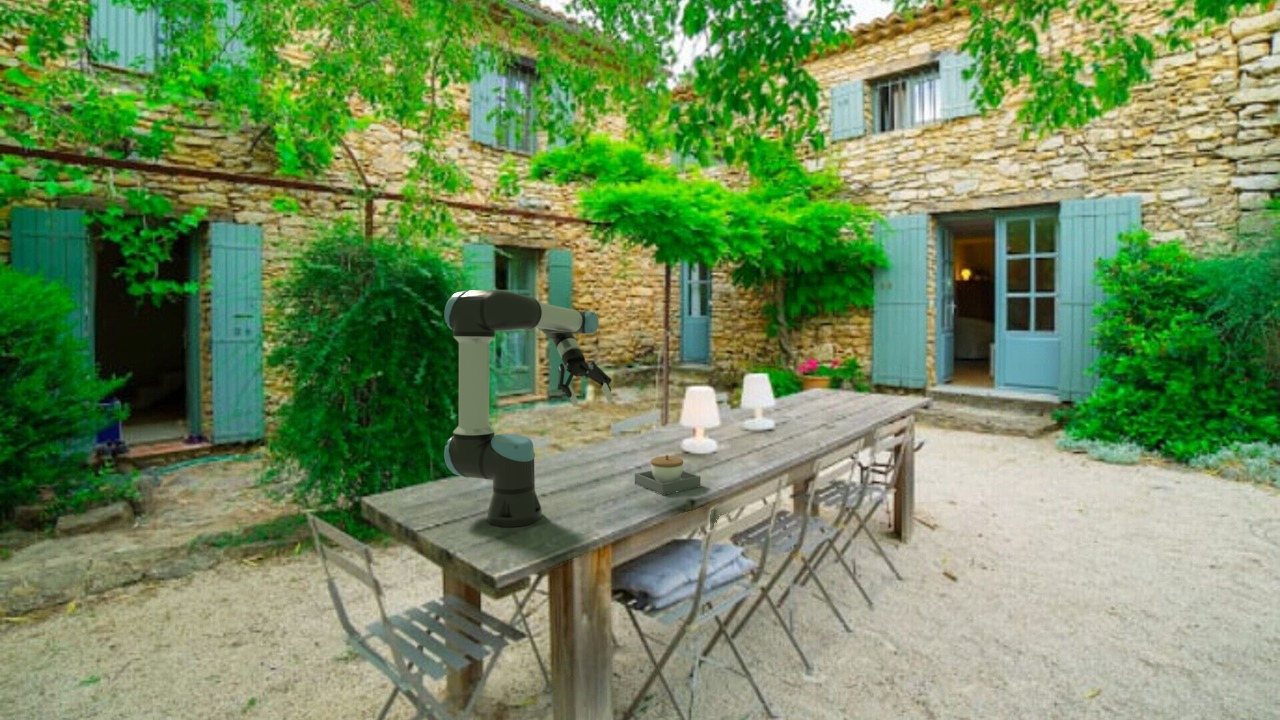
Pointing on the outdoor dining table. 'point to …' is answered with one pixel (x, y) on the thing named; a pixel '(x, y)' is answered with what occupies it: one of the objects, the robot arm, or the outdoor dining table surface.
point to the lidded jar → (666, 468)
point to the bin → (683, 483)
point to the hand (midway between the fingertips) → (593, 402)
